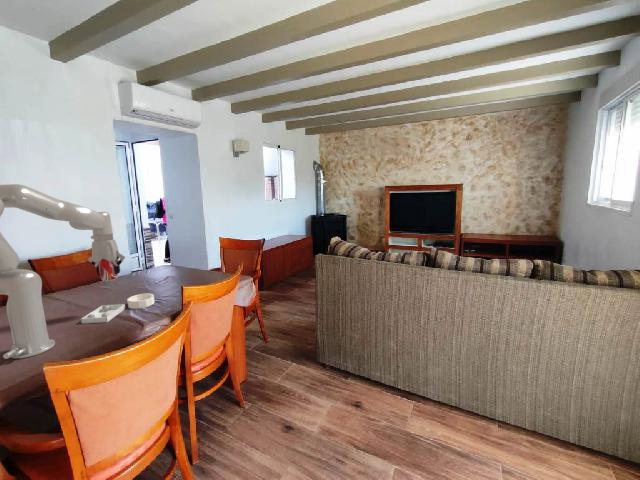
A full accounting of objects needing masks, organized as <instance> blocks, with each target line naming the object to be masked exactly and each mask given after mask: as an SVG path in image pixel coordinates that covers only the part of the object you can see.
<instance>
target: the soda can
mask: <svg viewBox="0 0 640 480" xmlns="http://www.w3.org/2000/svg"><path fill="white" fill-rule="evenodd" d="M102 258H104V257H102ZM98 265H99V272H100V275H99V277H100V280H101V281H103V282H113V281H116V280H117V279H118V278H119V273H118V274H115V271H114V266H115V265H114V263H113V261H112V262H109V261H108V260H106V259H101V260H100V261H99V262H98Z"/></svg>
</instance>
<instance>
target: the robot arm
mask: <svg viewBox="0 0 640 480" xmlns="http://www.w3.org/2000/svg"><path fill="white" fill-rule="evenodd" d="M6 208H10V209H11V208H15V209H19V210H21V211H25V212H28V213H32V214H34V215H37V216H40V217H42V218H45V219H49V220H55V221H61V222H62V221H63V222H68V223H69V225H70V227H71V228H73V229H74V230H78V231H92V235H91V236H90V239H93V241H92V242H91V256H89V257H88V259H87V261H88V262H89V263H91V264H92V265H93V266H94V267H95V269H96V273H97V276H100V272H99V265H98V262H99V261H100V260H101V259H106V260H108V261H109V262H112V261H113V263H114V265H115V266H114V271H115V274H118V275H119V274H120V273H121V267H120V265H121V264H122V263H123V261H124V260H125V259H126V256H124V255H123V254H121V253H120V251H119V248H118V244H117V242H116V240H115V239H114V234H113V228H112V227H113V226H112V220H111V214H110V213H109V212H107V211H96V210H93V209H90V208H89V207H85V206H82V205H79V204H76V203H75V204H74V203H71V202H68V201H65V200H61V199H57V198H55V197H54V196H50V195H48V194H46V193H43V192H41V191H39V190H37V189H34V188H32V187H30V186H27V185H24V184H12V183H11V184H0V218H1V217H2V215H3V213H4V211H5V209H6ZM102 257H104V258H102ZM19 264H20V256H19V255H18V253H17V252H16V251H15V249H14V248H13V247H12V246H11V244H10V243H9V242H8V241H7V240H6V238H5V236H4V235H3V234H2V232H1V231H0V295H5V296H8V298H7V302H6V313H7V319H8V323H9V327H10V332H11V338H12V343H13V344H12V345H11V349H10V350H9V351H8V352H6V353H4V354H3V355H2V358H3V359H5V360H7V359H9V358H11V359H25V358H30V357H33V356H36V355H40V354H43V353H45V352H47V351H48V350H51V349H52V348H54V346H55V345H56V341H55V340H54V339H52V338H49V333H48V328H47V327H48V326H47V321H46V317H45V311H44V306H43V300H42V299H43V298H42V289H43V288H42V287H43V281H42V277H41V276H40V275H39V274H38V273H37V272H35V271H34V270H30V269H26V268H25V269H24V268H20V269H19V268H17V267H18V266H19Z"/></svg>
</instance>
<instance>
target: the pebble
mask: <svg viewBox="0 0 640 480" xmlns="http://www.w3.org/2000/svg"><path fill="white" fill-rule="evenodd" d="M108 305H109V304H105V306H103V305H102V306H103V311H108V310H109V309H110V307H109V306H108Z"/></svg>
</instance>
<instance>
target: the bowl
mask: <svg viewBox="0 0 640 480" xmlns="http://www.w3.org/2000/svg"><path fill="white" fill-rule="evenodd" d="M126 300H127V301H126V302H127V306H128V307H127V308H128V309H133V310H136V309H143V308H146V307H150V306H152V305H153V304H154V303H155V295H154V293H149V292H148V293H140V294H136V295H132V296H129V297H128V298H127V299H126Z"/></svg>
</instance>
